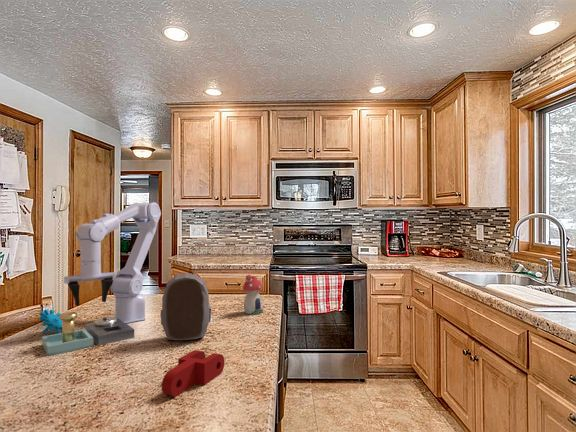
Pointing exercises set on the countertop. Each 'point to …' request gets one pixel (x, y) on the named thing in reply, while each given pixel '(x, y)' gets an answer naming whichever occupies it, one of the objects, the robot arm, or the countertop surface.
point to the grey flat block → (109, 330)
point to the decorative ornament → (252, 295)
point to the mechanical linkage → (192, 372)
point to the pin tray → (55, 345)
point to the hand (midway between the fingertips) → (90, 303)
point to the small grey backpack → (185, 308)
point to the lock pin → (67, 326)
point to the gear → (51, 321)
